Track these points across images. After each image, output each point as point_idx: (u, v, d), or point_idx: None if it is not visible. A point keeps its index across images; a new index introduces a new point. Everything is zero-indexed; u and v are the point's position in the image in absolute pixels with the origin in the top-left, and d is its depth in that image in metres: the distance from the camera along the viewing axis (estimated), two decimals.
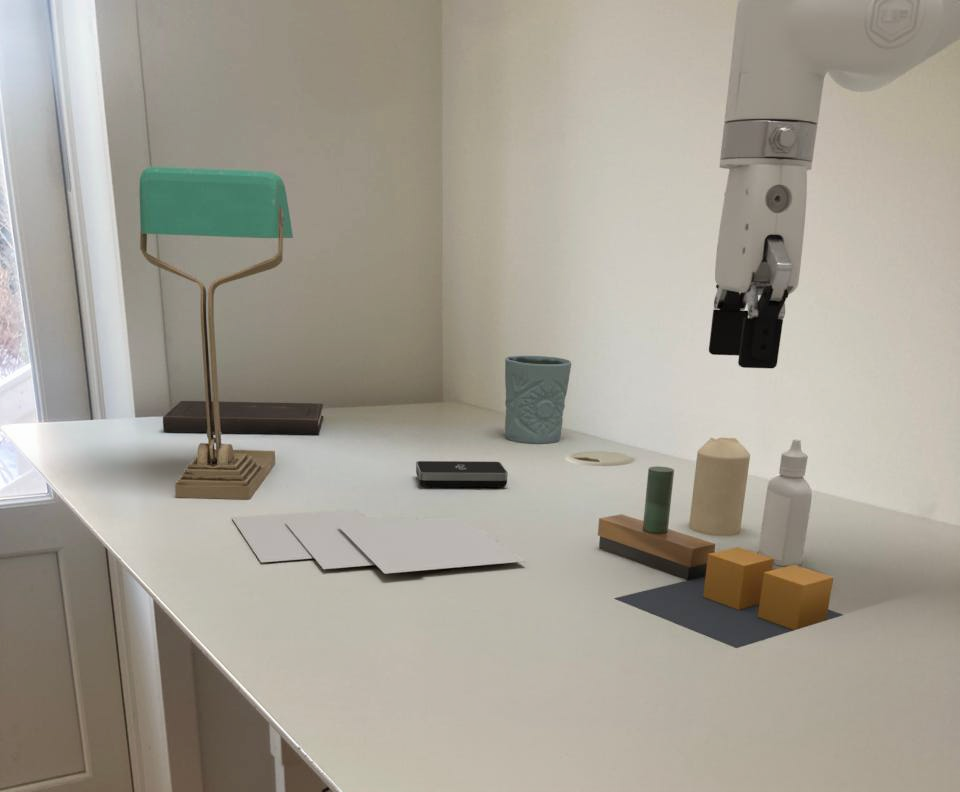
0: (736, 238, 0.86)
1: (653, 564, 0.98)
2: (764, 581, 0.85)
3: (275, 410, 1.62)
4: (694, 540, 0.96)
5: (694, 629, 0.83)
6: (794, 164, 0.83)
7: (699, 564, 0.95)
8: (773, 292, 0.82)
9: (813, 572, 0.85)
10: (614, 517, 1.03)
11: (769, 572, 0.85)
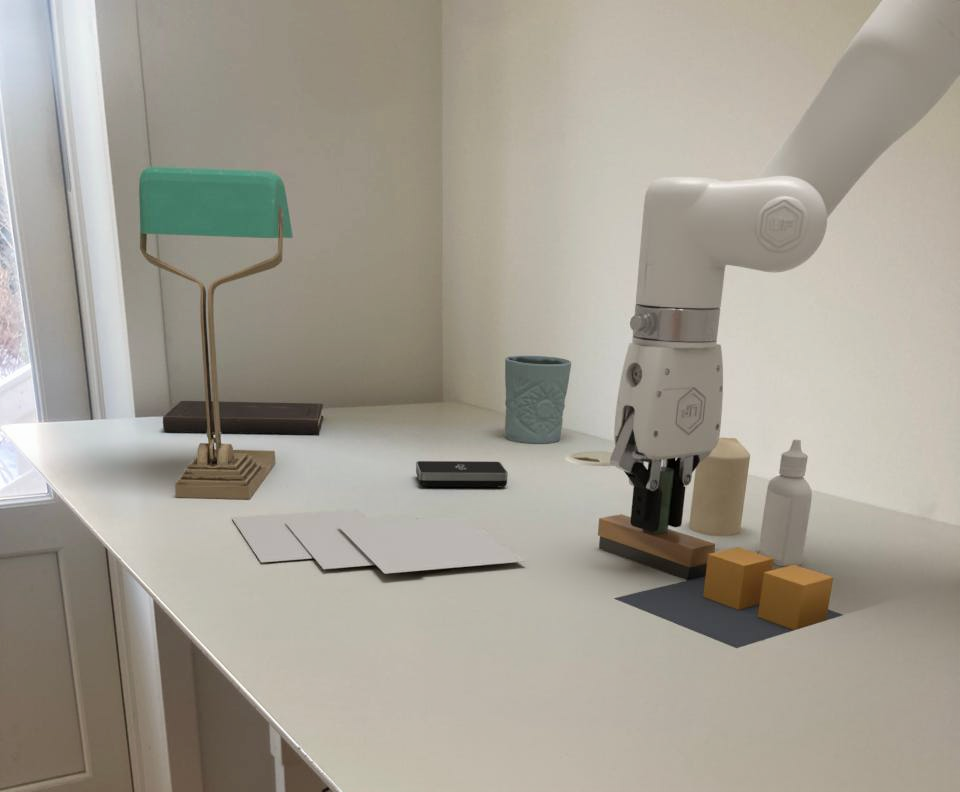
0: None
1: (653, 564, 0.98)
2: (764, 581, 0.85)
3: (275, 410, 1.62)
4: (694, 540, 0.96)
5: (694, 629, 0.83)
6: (657, 345, 0.90)
7: (699, 564, 0.95)
8: (625, 471, 0.95)
9: (813, 572, 0.85)
10: (614, 517, 1.03)
11: (769, 572, 0.85)
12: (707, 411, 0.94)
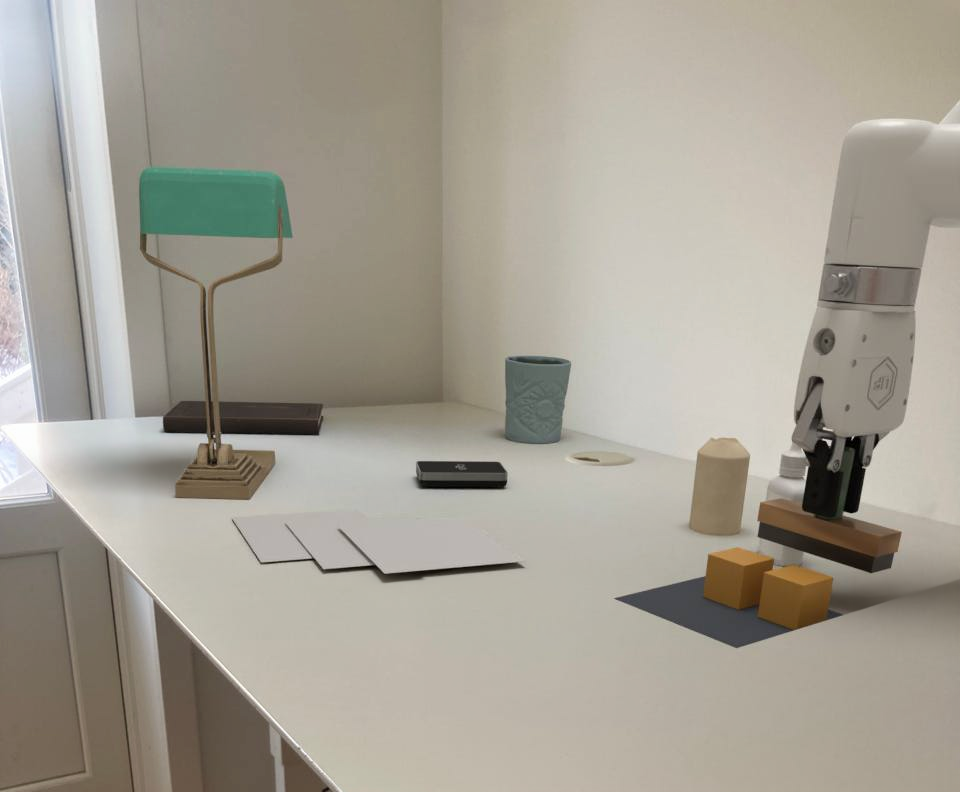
0: None
1: (827, 553, 0.89)
2: (764, 581, 0.85)
3: (275, 410, 1.62)
4: (877, 527, 0.87)
5: (694, 629, 0.83)
6: (853, 308, 0.81)
7: (884, 554, 0.86)
8: (805, 449, 0.85)
9: (813, 572, 0.85)
10: (776, 501, 0.94)
11: (769, 572, 0.85)
12: (897, 383, 0.85)
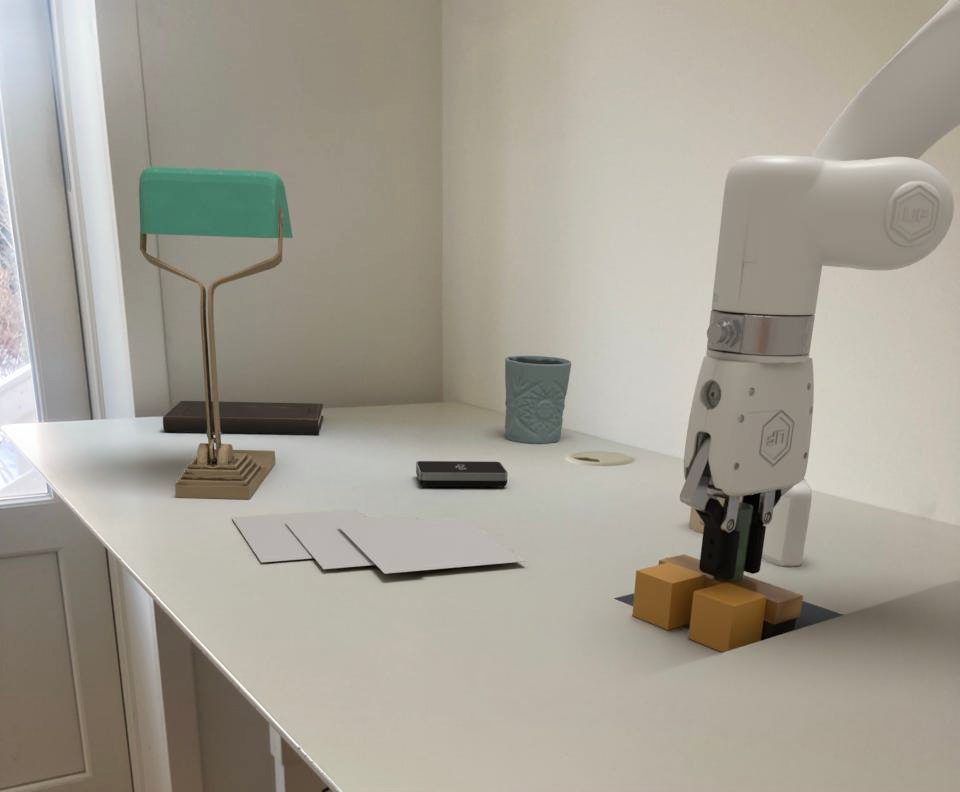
0: None
1: None
2: (694, 601, 0.80)
3: (275, 410, 1.62)
4: (777, 590, 0.81)
5: None
6: (740, 359, 0.74)
7: (784, 620, 0.80)
8: (697, 509, 0.79)
9: (746, 590, 0.80)
10: (676, 559, 0.88)
11: (699, 591, 0.80)
12: (794, 437, 0.79)
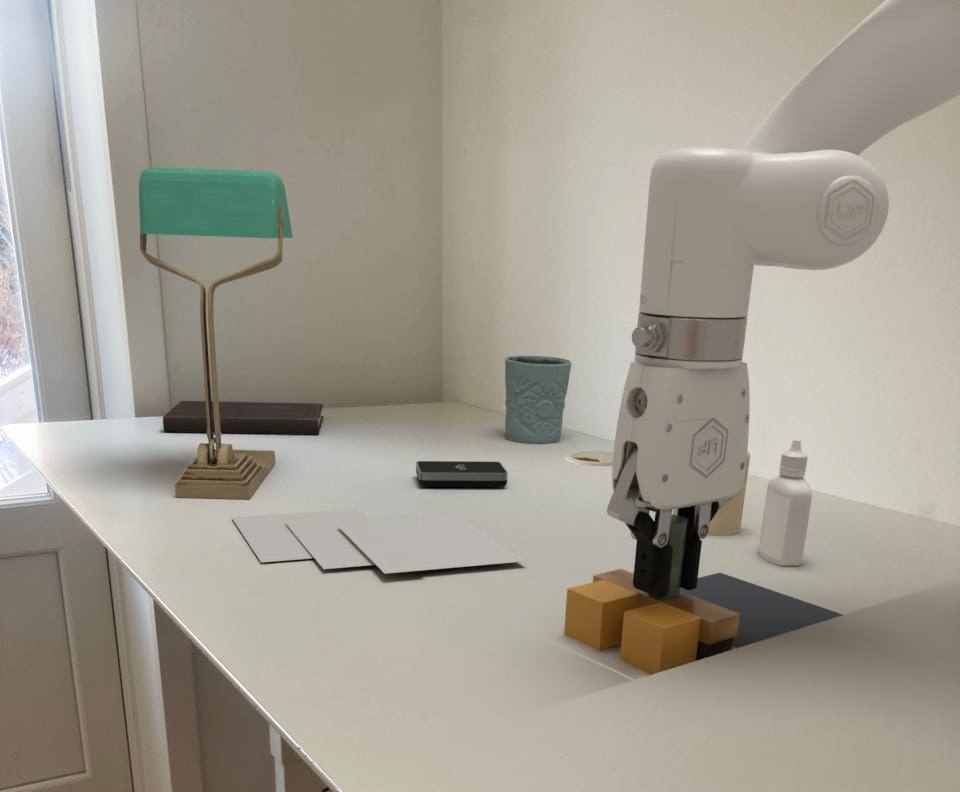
0: None
1: None
2: (624, 622, 0.75)
3: (275, 410, 1.62)
4: (713, 608, 0.77)
5: None
6: (667, 365, 0.70)
7: (719, 640, 0.75)
8: (626, 523, 0.75)
9: (680, 611, 0.76)
10: (612, 574, 0.83)
11: (630, 611, 0.75)
12: (729, 446, 0.74)
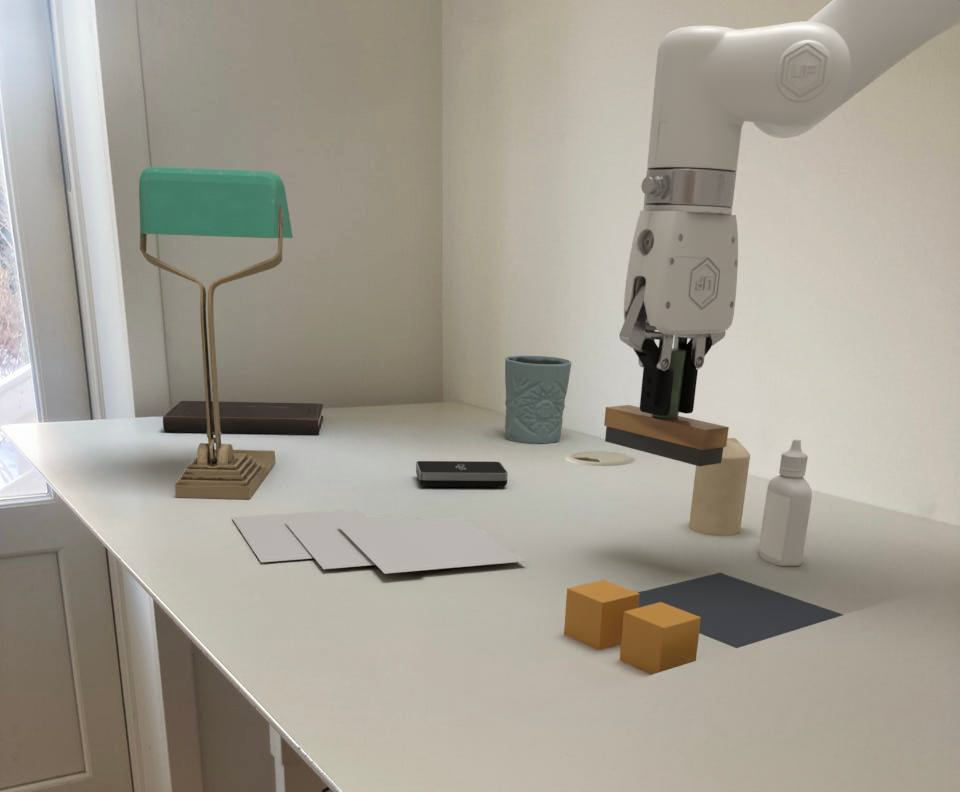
0: None
1: (663, 451, 0.94)
2: (624, 621, 0.75)
3: (275, 410, 1.62)
4: (706, 424, 0.92)
5: None
6: (670, 209, 0.85)
7: (712, 448, 0.91)
8: (635, 349, 0.90)
9: (680, 611, 0.76)
10: (621, 407, 0.99)
11: (630, 611, 0.75)
12: (721, 285, 0.90)
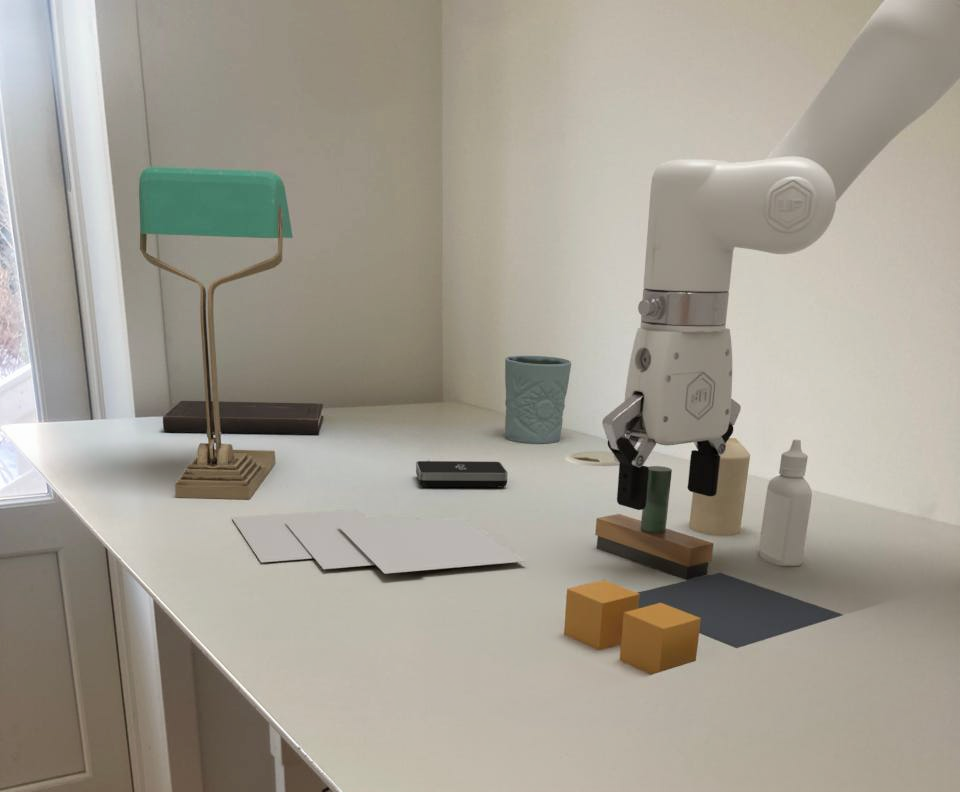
0: None
1: (651, 564, 0.98)
2: (624, 622, 0.75)
3: (275, 410, 1.62)
4: (692, 539, 0.96)
5: None
6: (666, 329, 0.89)
7: (697, 563, 0.95)
8: (610, 442, 0.91)
9: (679, 612, 0.76)
10: (611, 517, 1.03)
11: (629, 612, 0.75)
12: (716, 395, 0.93)
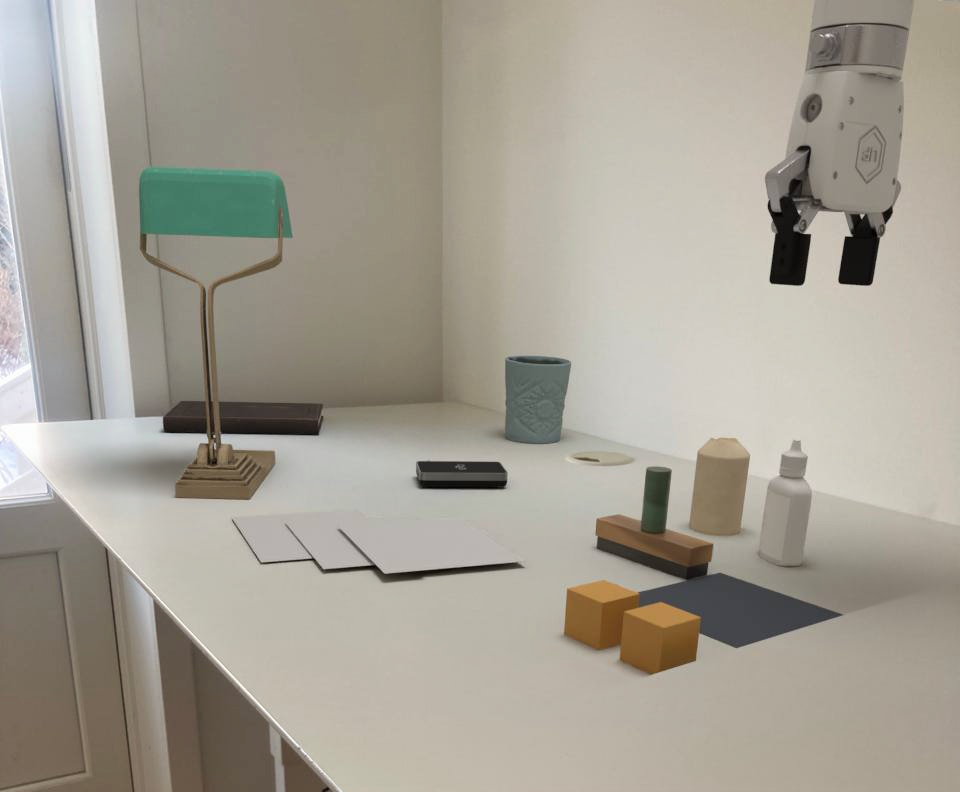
0: None
1: (651, 564, 0.98)
2: (624, 621, 0.75)
3: (275, 410, 1.62)
4: (692, 540, 0.96)
5: None
6: (840, 70, 0.80)
7: (697, 564, 0.95)
8: (771, 202, 0.82)
9: (680, 611, 0.76)
10: (611, 517, 1.03)
11: (630, 611, 0.75)
12: (886, 158, 0.84)
